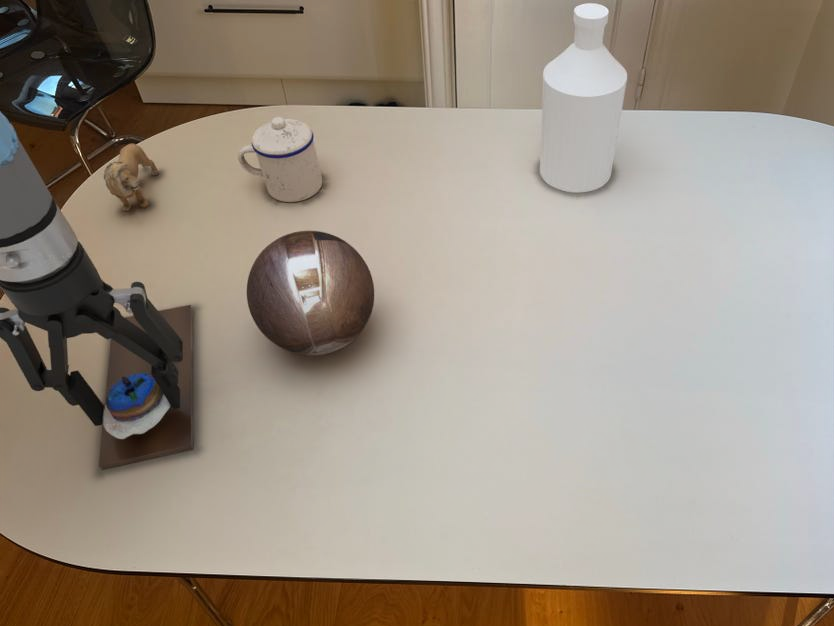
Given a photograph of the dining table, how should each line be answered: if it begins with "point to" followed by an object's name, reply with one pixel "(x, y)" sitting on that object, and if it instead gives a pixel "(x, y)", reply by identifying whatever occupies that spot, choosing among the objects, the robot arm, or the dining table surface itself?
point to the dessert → (134, 406)
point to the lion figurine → (128, 175)
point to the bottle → (581, 107)
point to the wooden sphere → (310, 292)
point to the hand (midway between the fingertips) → (138, 407)
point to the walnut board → (175, 423)
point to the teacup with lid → (285, 159)
